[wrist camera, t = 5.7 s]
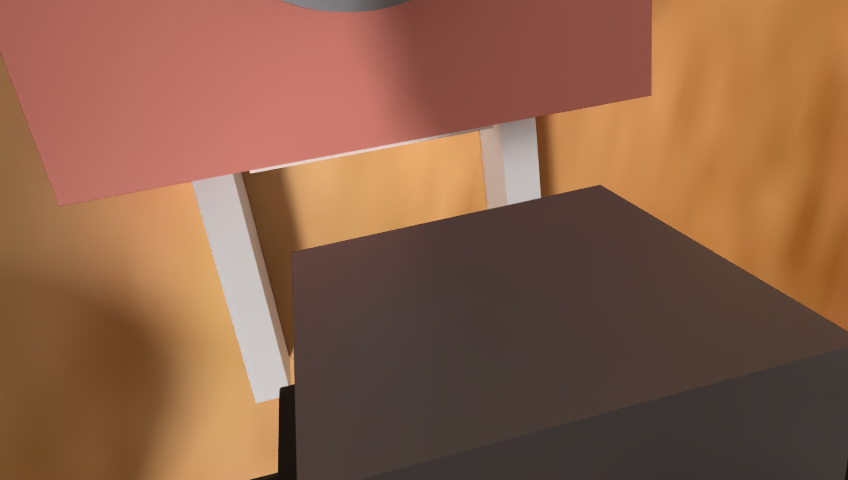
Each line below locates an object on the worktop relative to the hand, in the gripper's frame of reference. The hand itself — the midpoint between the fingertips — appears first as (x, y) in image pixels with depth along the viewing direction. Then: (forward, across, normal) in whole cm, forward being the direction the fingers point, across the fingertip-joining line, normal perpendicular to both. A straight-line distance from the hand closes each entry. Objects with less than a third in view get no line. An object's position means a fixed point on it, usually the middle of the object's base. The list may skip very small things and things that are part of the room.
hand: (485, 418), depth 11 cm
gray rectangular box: (+1, 0, 0) cm, 1 cm away
